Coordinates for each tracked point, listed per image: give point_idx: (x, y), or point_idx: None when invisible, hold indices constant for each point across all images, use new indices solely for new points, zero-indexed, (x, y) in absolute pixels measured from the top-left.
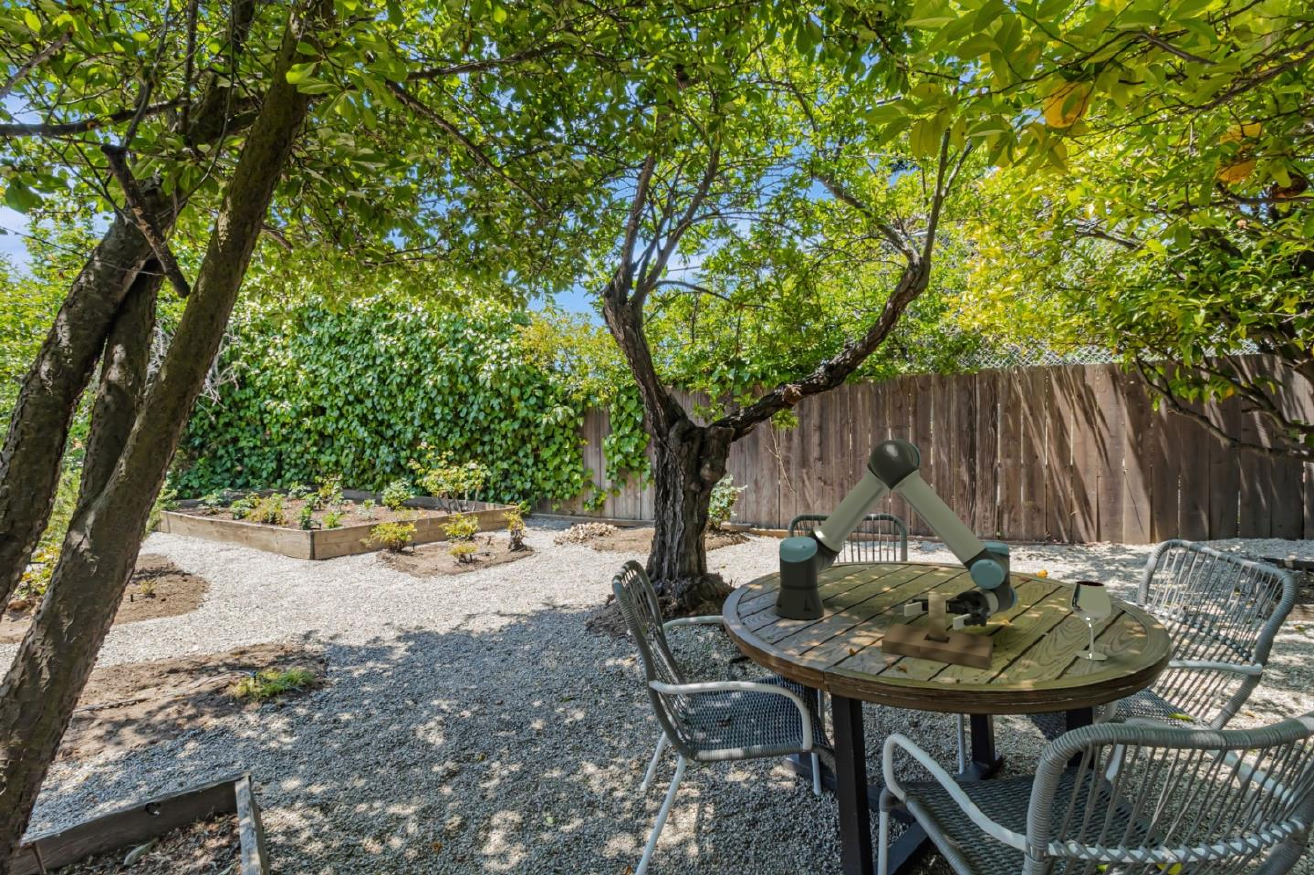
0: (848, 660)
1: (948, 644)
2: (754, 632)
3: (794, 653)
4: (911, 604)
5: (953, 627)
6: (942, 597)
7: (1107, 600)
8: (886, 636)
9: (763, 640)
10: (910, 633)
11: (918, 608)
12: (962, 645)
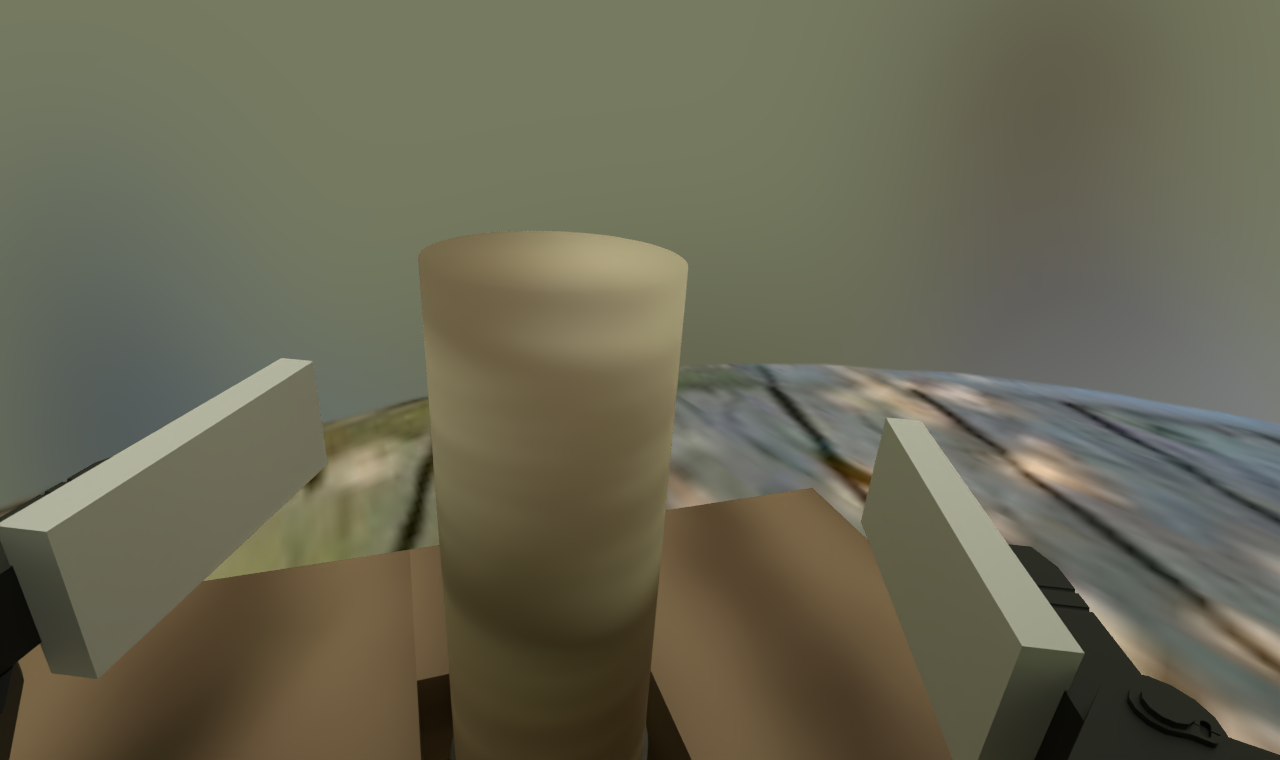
0: (784, 424)
1: (403, 663)
2: (1261, 438)
3: (938, 392)
4: (951, 486)
5: (319, 446)
6: (455, 245)
7: None
8: (855, 541)
9: (1126, 411)
10: (830, 709)
11: (951, 639)
12: (259, 725)
